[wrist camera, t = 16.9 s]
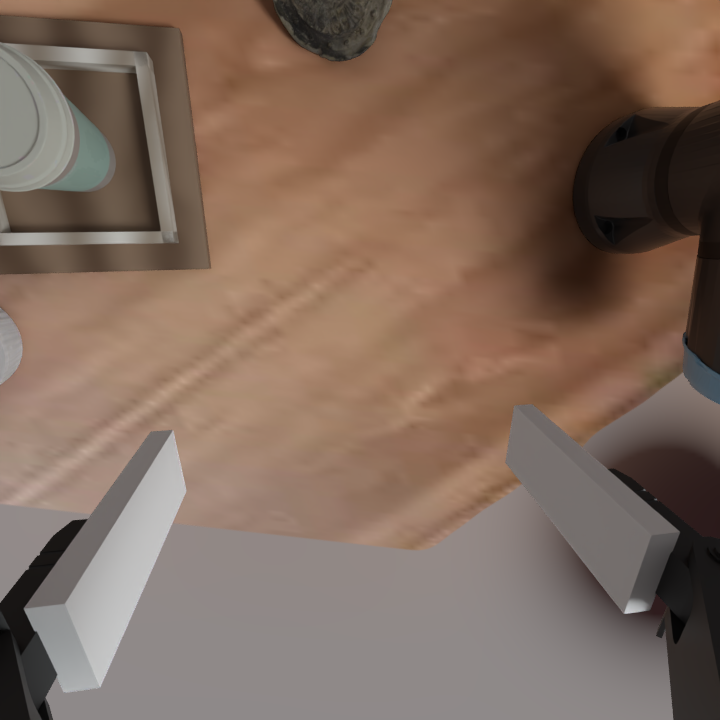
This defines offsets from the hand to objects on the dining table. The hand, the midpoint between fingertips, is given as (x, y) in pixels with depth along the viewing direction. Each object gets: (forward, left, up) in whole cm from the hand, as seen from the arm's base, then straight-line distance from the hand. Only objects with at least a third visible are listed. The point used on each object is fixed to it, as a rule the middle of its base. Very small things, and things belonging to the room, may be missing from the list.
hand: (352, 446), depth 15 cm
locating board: (+20, -16, -29) cm, 38 cm away
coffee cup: (+19, -16, -28) cm, 38 cm away
